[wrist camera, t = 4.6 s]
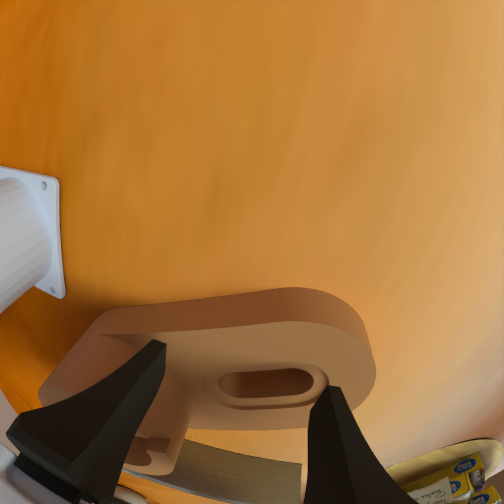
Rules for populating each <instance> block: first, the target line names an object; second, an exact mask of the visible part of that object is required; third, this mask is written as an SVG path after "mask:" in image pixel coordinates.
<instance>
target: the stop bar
mask: <svg viewBox="0 0 504 504" xmlns="http://www.w3.org/2000/svg"><path fill="white" fill-rule="evenodd" d="M301 469H302V464H296V463H288V462H281V461H275V460H269V459H263V458H257V457H252V456H247V455H242V454H238V453H233V452H229V451H225V450H221V449H217V448H213V447H209V446H206V445H202V444H199V443H195V442H192V441H189V440H185V439H184V440H183V443H182V446H181V449H180V452H179V455H178V458H177V461H176V464H175V467H174V469H173V471H172V472H171V473H169V474H166V475H149V474H143V473H139V472H135V471H132V470H129V469H126V468H122V471H124V472H126V473H128V474H131V475H133V476H136V477H138V478H141V479H142V478H145V479H148V480H150V481H153V482H156V483H159V484H162V485H165V486H168V487H171V488H174V489H177V490H180V491H184V492H187V493H191V494H194V495H198V496H202V497H206V498H210V499H214V500H219V501H223V502H228V503H233V504H299V500H300V486H301Z"/></svg>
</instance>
